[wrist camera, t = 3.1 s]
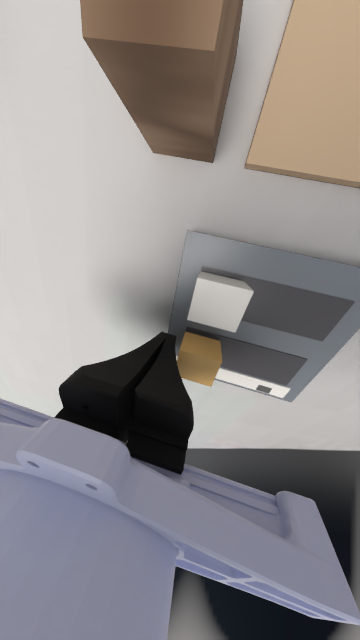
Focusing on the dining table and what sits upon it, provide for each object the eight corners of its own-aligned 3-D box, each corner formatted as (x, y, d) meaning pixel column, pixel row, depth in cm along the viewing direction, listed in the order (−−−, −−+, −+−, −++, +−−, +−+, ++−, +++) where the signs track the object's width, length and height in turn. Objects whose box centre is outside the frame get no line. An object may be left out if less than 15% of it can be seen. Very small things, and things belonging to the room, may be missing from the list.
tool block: (236, 55, 7) (297, -421, 2) (212, 163, 9) (214, 50, 4) (161, 47, 8) (53, -385, 2) (153, 152, 10) (82, 37, 4)
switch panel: (372, 272, 10) (410, 277, 8) (282, 384, 16) (292, 403, 14) (191, 233, 11) (186, 229, 9) (167, 351, 17) (161, 365, 15)
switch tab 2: (220, 341, 12) (222, 361, 10) (211, 363, 13) (211, 386, 11) (185, 331, 12) (179, 349, 10) (179, 354, 13) (173, 375, 11)
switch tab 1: (244, 281, 10) (253, 291, 7) (230, 315, 11) (235, 332, 9) (200, 271, 10) (197, 277, 8) (191, 305, 11) (186, 319, 9)
